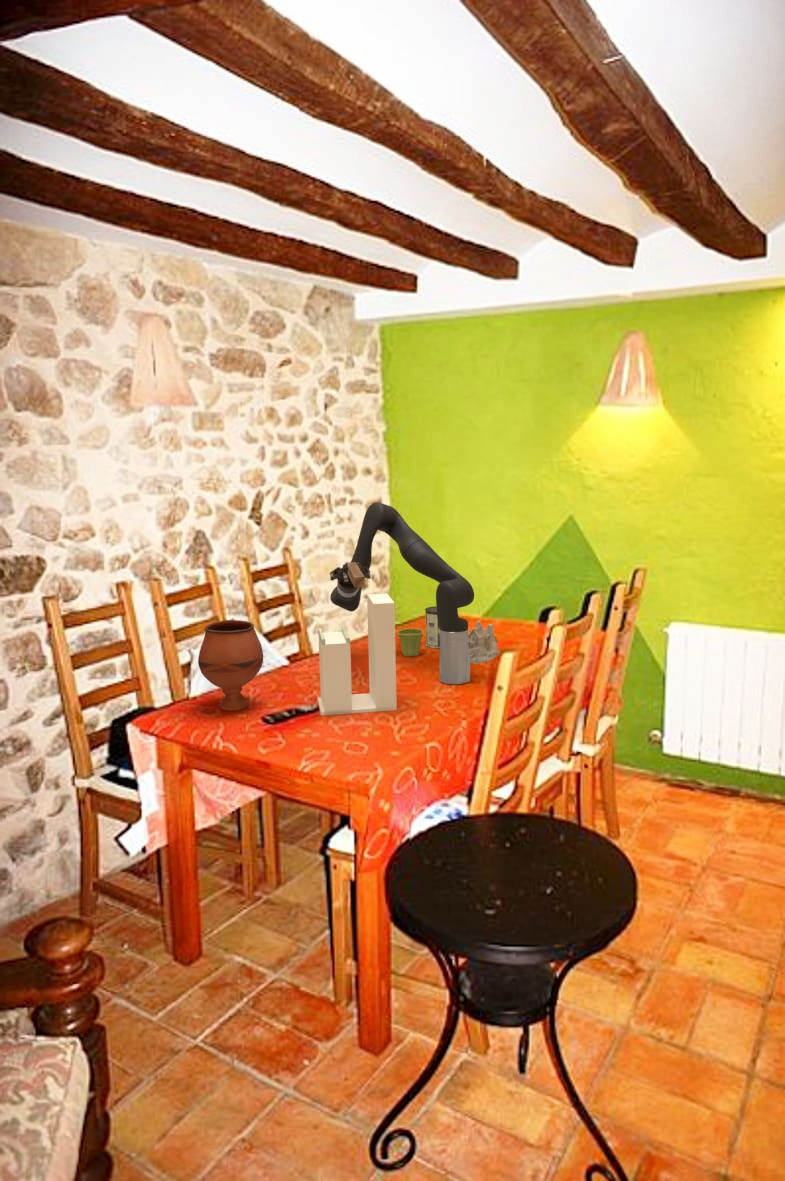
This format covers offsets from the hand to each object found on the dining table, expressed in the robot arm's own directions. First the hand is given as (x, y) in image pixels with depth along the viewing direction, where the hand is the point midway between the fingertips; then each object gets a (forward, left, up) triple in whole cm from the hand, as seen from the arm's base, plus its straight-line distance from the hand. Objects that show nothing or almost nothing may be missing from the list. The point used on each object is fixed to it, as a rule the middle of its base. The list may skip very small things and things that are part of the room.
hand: (352, 565), depth 252 cm
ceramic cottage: (-46, -22, -39) cm, 64 cm away
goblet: (+38, +13, -39) cm, 56 cm away
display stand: (+2, +20, -39) cm, 44 cm away
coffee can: (-37, -42, -39) cm, 68 cm away
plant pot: (-24, -31, -39) cm, 55 cm away
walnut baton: (0, +7, -3) cm, 8 cm away
